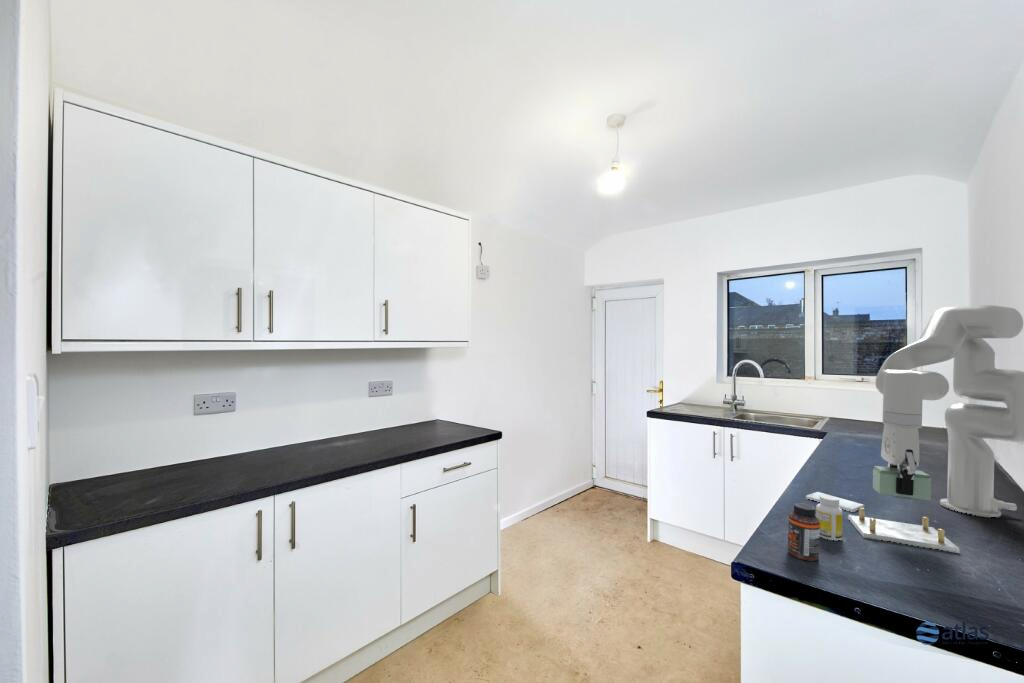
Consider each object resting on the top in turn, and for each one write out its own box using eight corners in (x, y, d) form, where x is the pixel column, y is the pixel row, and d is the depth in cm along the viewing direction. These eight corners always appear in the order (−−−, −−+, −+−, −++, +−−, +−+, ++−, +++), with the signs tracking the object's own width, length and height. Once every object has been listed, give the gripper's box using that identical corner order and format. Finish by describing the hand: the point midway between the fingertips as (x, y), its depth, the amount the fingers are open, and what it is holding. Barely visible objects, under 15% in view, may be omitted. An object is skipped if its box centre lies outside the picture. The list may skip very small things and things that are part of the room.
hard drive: (805, 495, 137) (852, 508, 126) (818, 491, 141) (864, 503, 130) (805, 500, 137) (852, 514, 126) (818, 496, 141) (864, 509, 130)
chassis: (932, 531, 114) (933, 515, 114) (959, 553, 102) (959, 535, 102) (848, 518, 121) (848, 503, 121) (863, 537, 109) (864, 520, 109)
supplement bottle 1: (781, 549, 102) (782, 500, 102) (805, 549, 102) (806, 500, 102) (800, 562, 96) (801, 510, 96) (825, 562, 96) (827, 510, 96)
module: (921, 494, 112) (922, 470, 112) (930, 500, 107) (931, 475, 107) (872, 488, 116) (873, 465, 116) (879, 493, 111) (880, 470, 111)
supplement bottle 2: (837, 534, 111) (838, 495, 111) (845, 543, 106) (846, 502, 106) (812, 530, 113) (813, 492, 113) (819, 539, 108) (820, 499, 108)
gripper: (871, 413, 121) (870, 479, 121) (896, 423, 105) (894, 498, 105) (906, 416, 118) (904, 484, 118) (937, 426, 102) (934, 504, 102)
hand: (899, 490), depth 111 cm, fingers closed on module, 5 cm apart
